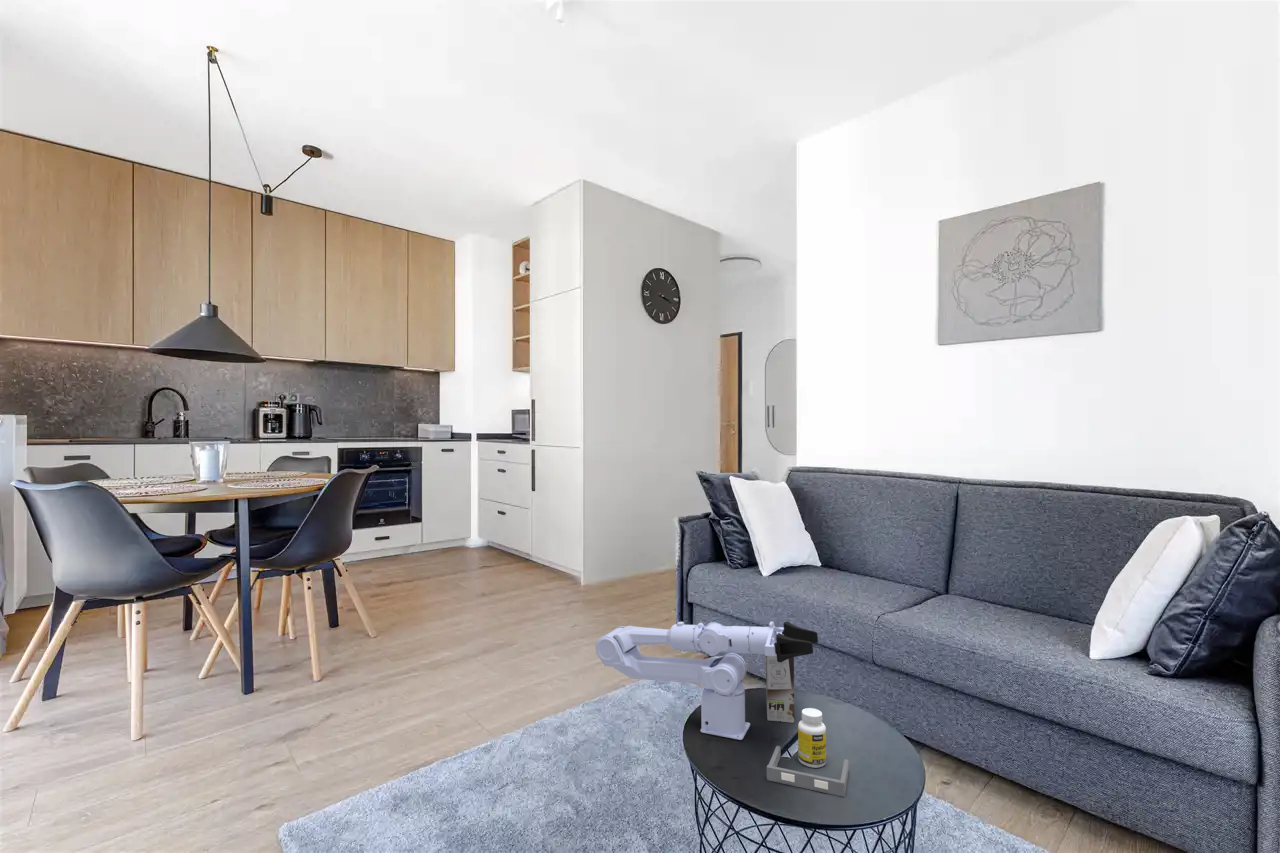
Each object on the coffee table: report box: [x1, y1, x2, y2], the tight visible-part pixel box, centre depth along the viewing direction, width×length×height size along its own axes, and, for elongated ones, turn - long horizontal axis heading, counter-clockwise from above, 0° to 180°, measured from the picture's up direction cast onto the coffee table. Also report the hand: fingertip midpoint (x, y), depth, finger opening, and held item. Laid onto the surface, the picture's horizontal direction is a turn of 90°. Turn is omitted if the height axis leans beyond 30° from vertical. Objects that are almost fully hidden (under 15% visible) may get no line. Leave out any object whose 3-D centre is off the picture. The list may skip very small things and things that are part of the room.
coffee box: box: [765, 655, 795, 724], centre depth 141 cm, size 9×6×16 cm
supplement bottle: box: [797, 707, 827, 769], centre depth 119 cm, size 5×5×10 cm
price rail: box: [766, 745, 850, 798], centre depth 114 cm, size 14×10×2 cm
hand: (815, 642), depth 126 cm, fingers open, 7 cm apart
